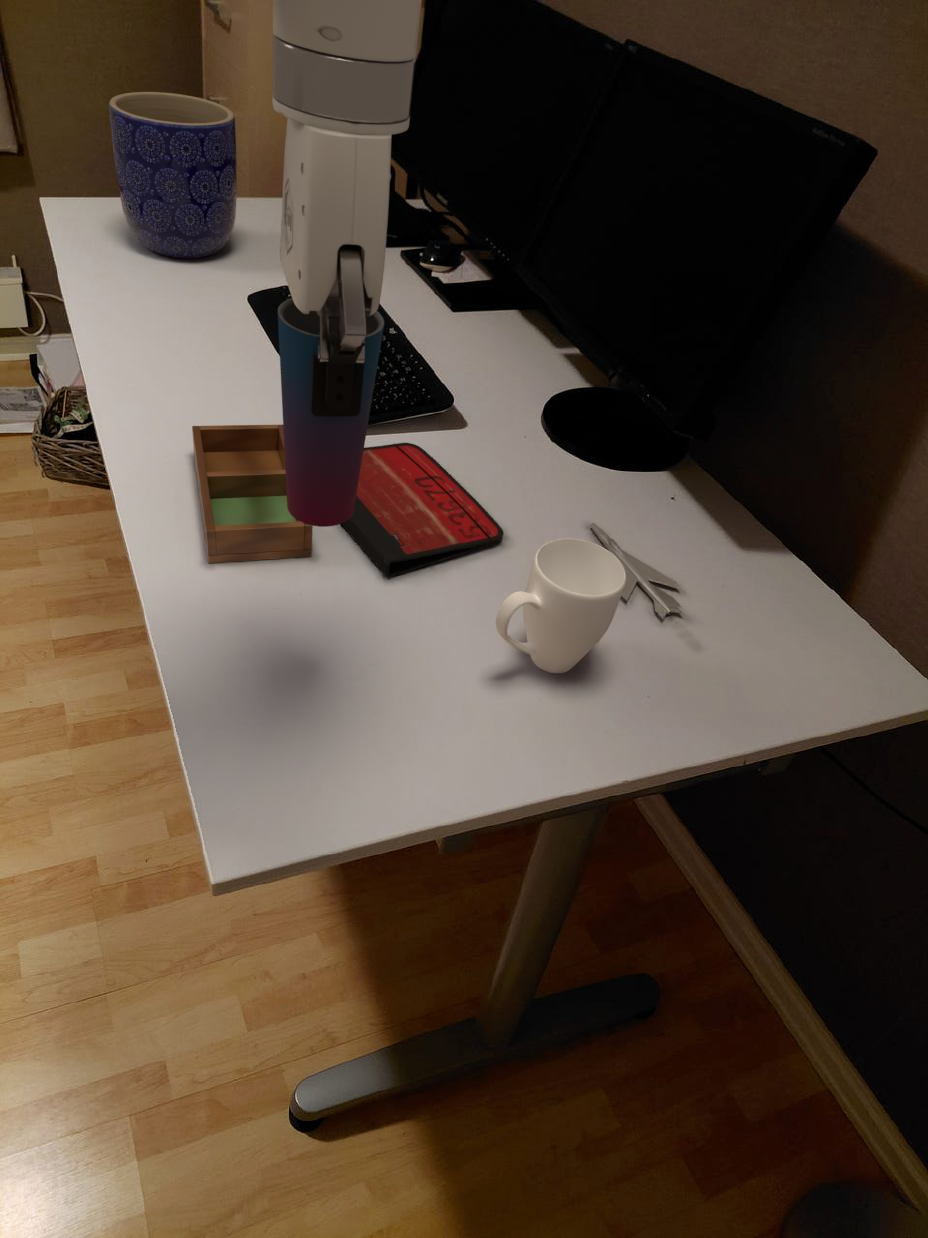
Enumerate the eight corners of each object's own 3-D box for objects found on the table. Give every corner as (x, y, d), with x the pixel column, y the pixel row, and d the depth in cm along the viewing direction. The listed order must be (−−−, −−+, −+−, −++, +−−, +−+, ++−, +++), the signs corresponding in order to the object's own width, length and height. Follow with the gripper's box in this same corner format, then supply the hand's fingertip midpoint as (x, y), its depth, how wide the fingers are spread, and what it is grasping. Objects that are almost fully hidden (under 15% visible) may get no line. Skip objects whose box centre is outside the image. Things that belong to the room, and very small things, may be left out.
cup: (373, 492, 67) (392, 306, 57) (355, 541, 62) (373, 347, 52) (288, 475, 67) (293, 286, 57) (263, 523, 62) (264, 325, 52)
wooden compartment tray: (208, 563, 84) (206, 531, 81) (194, 456, 97) (192, 425, 94) (311, 556, 87) (312, 525, 84) (283, 453, 100) (284, 424, 98)
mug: (560, 619, 86) (588, 528, 78) (611, 674, 81) (646, 583, 73) (461, 652, 80) (481, 558, 72) (509, 713, 75) (536, 618, 67)
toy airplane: (616, 522, 100) (622, 506, 99) (725, 640, 87) (733, 624, 86) (562, 531, 97) (566, 514, 96) (665, 655, 84) (673, 638, 82)
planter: (158, 273, 132) (145, 126, 119) (103, 232, 141) (85, 91, 128) (259, 259, 143) (258, 122, 129) (203, 221, 152) (196, 90, 138)
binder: (388, 561, 84) (295, 455, 96) (385, 579, 86) (294, 472, 98) (513, 531, 93) (414, 436, 105) (508, 547, 94) (411, 452, 106)
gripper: (255, 43, 51) (257, 331, 62) (295, 120, 39) (287, 458, 51) (378, 60, 53) (357, 334, 65) (451, 137, 41) (408, 456, 53)
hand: (326, 386), depth 58 cm, fingers closed on cup, 6 cm apart
